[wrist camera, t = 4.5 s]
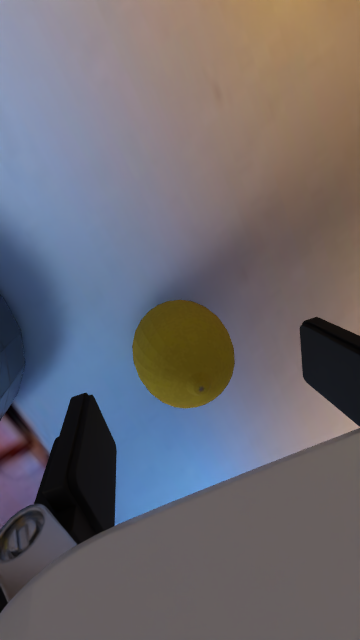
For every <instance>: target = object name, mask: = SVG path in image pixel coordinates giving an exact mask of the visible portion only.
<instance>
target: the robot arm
mask: <svg viewBox="0 0 360 640" xmlns="http://www.w3.org/2000/svg"><path fill="white" fill-rule="evenodd" d="M300 339H301V354H302V369H303V377H304V379H305V381H306V382H307V383H308V384H309V385H310V386H312V387H313V388H314V389H315V390H316V391H318V392H319V393H320V394H321V395H322V396H324V397H325V398H326V399H327V400H328V401H330V402H331V403H332V404H333V405H334V406H336V407H337V408H338V409H339V410H340V411H342V412H343V413H344V414H345V415H346V416H348V417H349V418H350V419H351V420H352V421H354V422H355V423H356V424H357V425H358V426H360V336H359V335H356V334H354V333H352V332H350V331H348V330H345V329H343V328H341V327H339V326H336V325H334V324H332V323H330V322H327V321H325V320H323V319H321V318H318V317H315V318H312V319H309V320H305V321H304V322H303V323H302V325H301V326H300ZM116 453H117V451H116V444H115V441H114V439H113V437H112V435H111V433H110V431H109V428H108V426H107V424H106V422H105V420H104V418H103V415H102V413H101V411H100V409H99V407H98V405H97V402H96V400H95V398H94V396H93V395H88V394H87V393H84V394H80V395H77V396H74V397H72V398H71V400H70V403H69V406H68V410H67V413H66V416H65V419H64V423H63V426H62V429H61V432H60V436H59V437H57V438H56V439H55V441H54V444H53V447H52V450H51V453H50V456H49V459H48V462H47V465H46V469H45V472H44V475H43V478H42V481H41V484H40V487H39V490H38V493H37V496H36V500H35V503H34V505H30V506H27V507H26V508H24V509H22V510H20V511H19V512H17V513H16V514H15V515H14V516H12V517H11V518H10V519H9V520H8V521H7V522H6V524H5V525H4V526H3V527H2V528H1V530H0V640H360V428H359V429H356V430H354V431H351V432H348V433H346V434H343V435H341V436H338V437H335V438H333V439H330V440H327V441H325V442H322V443H320V444H317V445H315V446H312V447H309V448H307V449H304V450H302V451H299V452H297V453H294V454H291V455H289V456H286V457H284V458H281V459H279V460H276V461H274V462H271V463H268V464H266V465H263V466H261V467H258V468H256V469H253V470H251V471H248V472H245V473H243V474H240V475H238V476H235V477H233V478H230V479H228V480H225V481H223V482H220V483H218V484H215V485H213V486H210V487H208V488H205V489H203V490H200V491H198V492H195V493H193V494H190V495H188V496H185V497H183V498H180V499H178V500H175V501H173V502H170V503H168V504H165V505H163V506H160V507H158V508H156V509H153V510H151V511H148V512H146V513H144V514H141V515H139V516H136V517H134V518H132V519H129V520H127V521H125V522H122V523H120V524H118V525H116V526H114V525H115V489H116Z"/></svg>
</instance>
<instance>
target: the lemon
mask: <svg viewBox="0 0 360 640" xmlns="http://www.w3.org/2000/svg"><path fill="white" fill-rule="evenodd" d="M132 348H133V360H134V364H135V367H136V370H137V372H138V375H139V377H140V379H141V381H142V382H143V384H144V385H145V386H146V388H147V389H148V390H149V392H150V393H151V394H152V395H153V396H155V397H156V398H158V399H159V400H160V401H162V402H163V403H166V404H168V405H171V406H173V407H178V408H194V407H199V406H202V405H205V404H207V403H209V402H210V401H212V400H214V399H215V398H216V397H217V396H219V395H220V394H221V393H222V392H223V390H224V389H225V388H226V386H227V385H228V383H229V381H230V379H231V377H232V374H233V369H234V364H235V360H234V348H233V345H232V342H231V339H230V336H229V333H228V331H227V329H226V328H225V326H224V325H223V324H222V322H221V321H220V319H219V318H218V317H217V316H216V315H215V314H214V313H212V312H211V311H210V310H208V309H207V308H206V307H204V306H202V305H200V304H197V303H195V302H192V301H186V300H174V301H167V302H165V303H162V304H159V305H157V306H156V307H154V308H153V309H151V310H150V311H149V312H148V313H147V314H146V315H145V316H144V317H143V319H142V320H141V321H140V323H139V325H138V327H137V329H136V331H135V335H134V340H133V346H132Z"/></svg>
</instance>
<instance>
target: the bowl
mask: <svg viewBox="0 0 360 640" xmlns="http://www.w3.org/2000/svg"><path fill="white" fill-rule="evenodd" d="M24 368H25V358H24V350H23V343H22V336H21V332H20V329H19V327H18V325H17V323H16V321H15V319H14V317H13V315H12V313H11V312H10V310H9V308H8V306H7V304H6V302H5V300H4V298H2V296H1V295H0V420H1V419H2V417H3V416H4V414H5V413H6V411H7V409H8V408H9V406H10V405H11V403H12V402H13V400H14V398H15V397H16V395H17V393H18V391H19V387H20V383H21V379H22V375H23V372H24Z"/></svg>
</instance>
